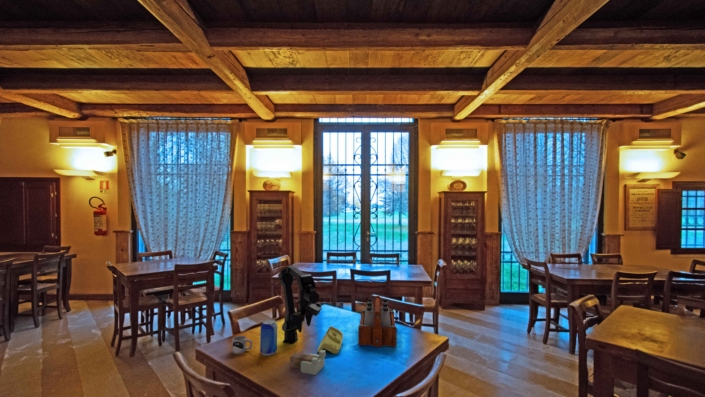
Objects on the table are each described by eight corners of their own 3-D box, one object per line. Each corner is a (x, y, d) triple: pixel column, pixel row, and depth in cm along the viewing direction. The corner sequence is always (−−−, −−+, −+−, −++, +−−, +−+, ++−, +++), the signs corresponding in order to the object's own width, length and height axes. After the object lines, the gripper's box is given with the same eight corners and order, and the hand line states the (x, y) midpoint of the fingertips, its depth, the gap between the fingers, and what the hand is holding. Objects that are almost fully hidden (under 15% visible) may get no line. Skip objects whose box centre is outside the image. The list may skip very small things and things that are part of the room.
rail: (290, 366, 151) (290, 356, 151) (294, 363, 155) (294, 352, 155) (313, 371, 147) (313, 360, 147) (316, 367, 151) (317, 356, 151)
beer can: (280, 350, 168) (280, 319, 168) (270, 357, 160) (271, 325, 160) (266, 348, 171) (266, 317, 171) (256, 354, 163) (257, 323, 163)
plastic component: (339, 350, 164) (322, 341, 164) (333, 362, 164) (316, 353, 165) (344, 332, 183) (328, 324, 184) (338, 343, 184) (323, 335, 185)
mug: (230, 354, 163) (230, 341, 164) (234, 348, 170) (234, 335, 170) (250, 353, 164) (250, 340, 164) (253, 348, 171) (253, 335, 171)
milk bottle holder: (357, 347, 173) (358, 311, 173) (361, 324, 207) (361, 294, 208) (397, 349, 171) (397, 313, 172) (393, 325, 206) (394, 295, 206)
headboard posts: (300, 372, 146) (300, 357, 146) (310, 362, 155) (310, 347, 156) (316, 375, 143) (316, 360, 143) (325, 365, 153) (325, 350, 153)
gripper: (310, 305, 155) (310, 338, 155) (326, 296, 173) (325, 325, 173) (290, 303, 159) (290, 335, 159) (308, 293, 177) (307, 322, 176)
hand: (304, 329), depth 167 cm, fingers open, 9 cm apart
